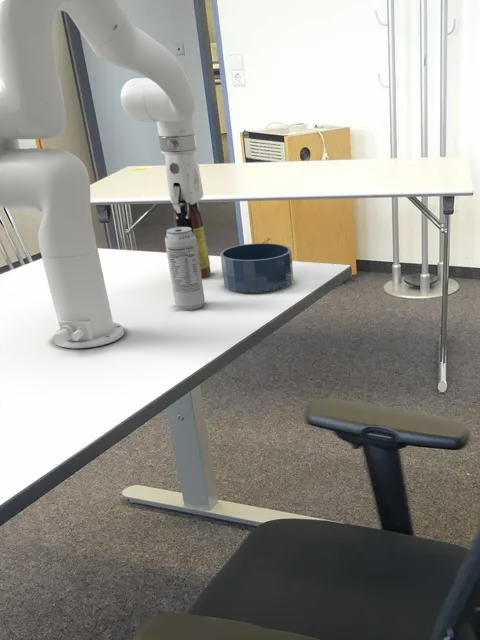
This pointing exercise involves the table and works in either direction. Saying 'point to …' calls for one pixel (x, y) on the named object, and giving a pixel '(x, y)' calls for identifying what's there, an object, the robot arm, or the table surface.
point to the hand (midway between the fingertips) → (190, 233)
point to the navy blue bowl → (257, 267)
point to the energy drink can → (184, 268)
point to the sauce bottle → (198, 238)
